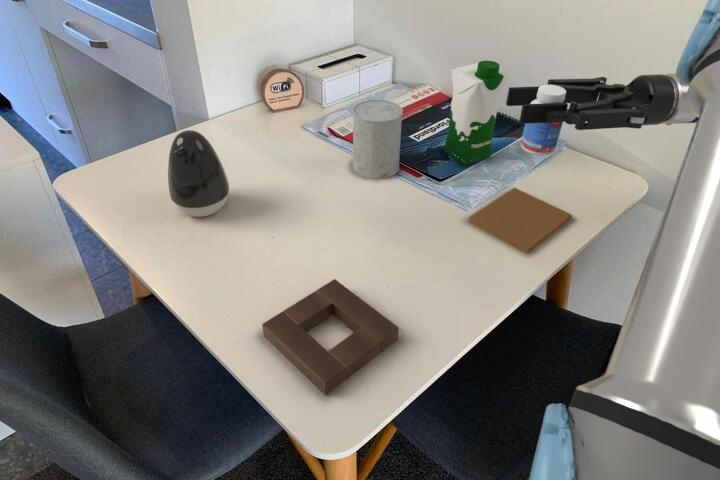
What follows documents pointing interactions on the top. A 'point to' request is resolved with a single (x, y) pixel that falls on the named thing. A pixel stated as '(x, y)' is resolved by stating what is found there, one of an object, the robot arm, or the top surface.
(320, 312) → the socket base
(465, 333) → the top surface
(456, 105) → the milk carton
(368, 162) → the concrete cylinder
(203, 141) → the black egg-shaped figure
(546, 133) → the pill bottle
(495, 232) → the cork pad
